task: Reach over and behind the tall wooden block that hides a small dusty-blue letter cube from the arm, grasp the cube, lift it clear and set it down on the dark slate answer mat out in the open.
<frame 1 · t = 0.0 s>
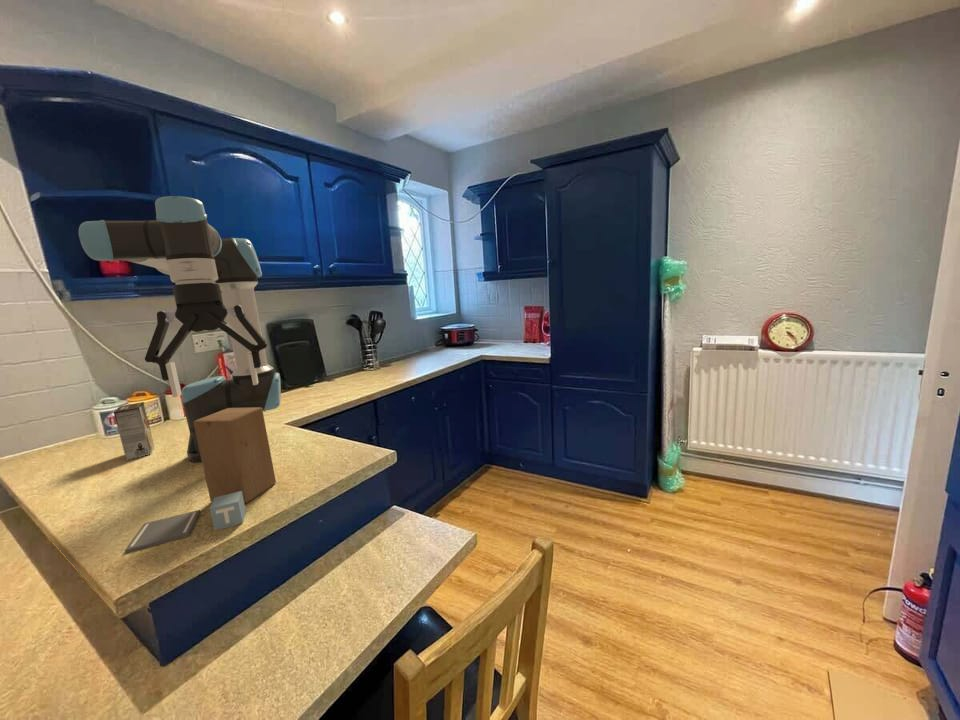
hand: (217, 389, 79), 28 cm above the countertop, fingers open, 13 cm apart
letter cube: (230, 521, 83), on the countertop
coffee box: (141, 454, 128), on the countertop
answer mat: (166, 530, 81), on the countertop
wooden block: (245, 493, 95), on the countertop
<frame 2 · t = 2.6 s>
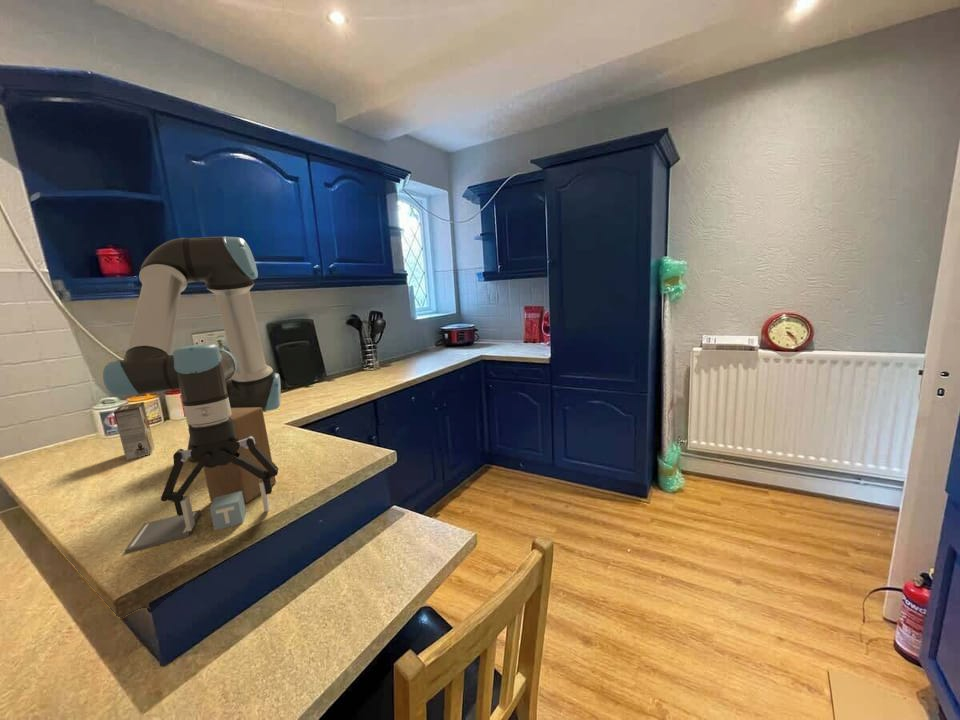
hand: (230, 518, 82), 1 cm above the countertop, fingers open, 13 cm apart
nothing on the countertop moved.
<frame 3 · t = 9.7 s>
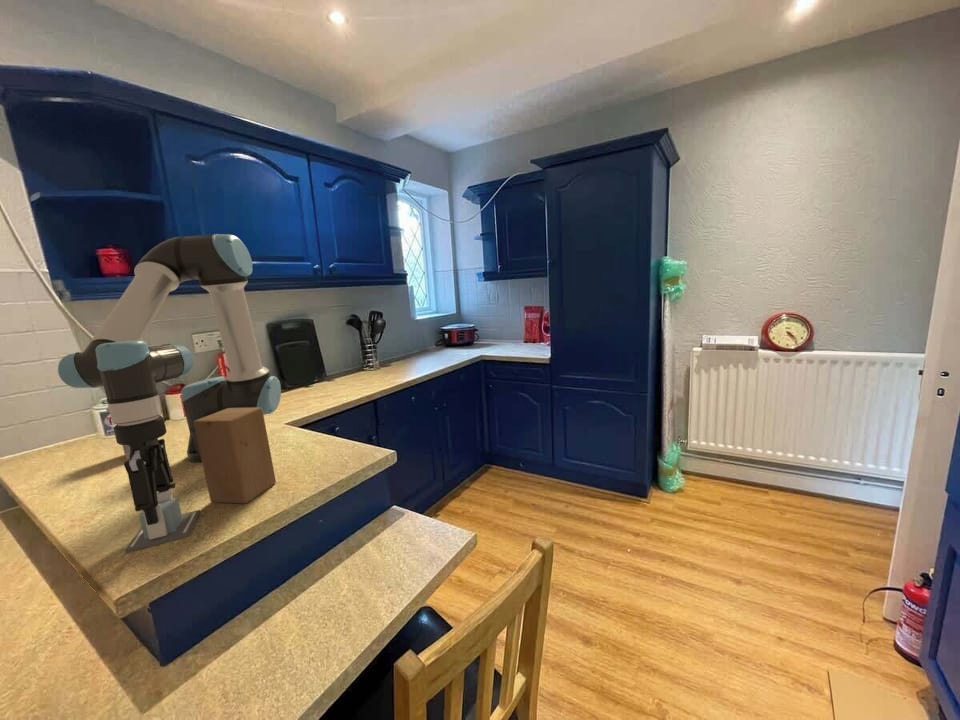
hand: (163, 528, 80), 1 cm above the countertop, fingers open, 6 cm apart
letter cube: (164, 528, 81), point 1 cm above the countertop, touching answer mat, gripper
everything else where it was.
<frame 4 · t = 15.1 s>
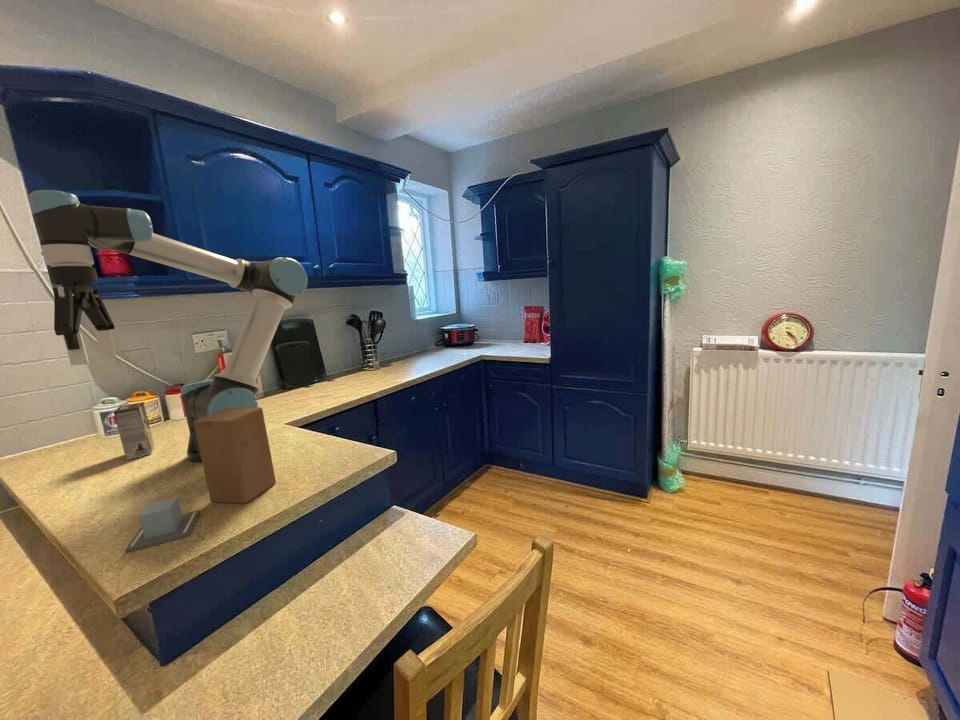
hand: (95, 360, 91), 35 cm above the countertop, fingers open, 13 cm apart
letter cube: (164, 528, 81), point 1 cm above the countertop, touching answer mat
everything else where it was.
at the end: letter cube inside the target area on the answer mat (0.1 cm from its centre), point 0.6 cm above the answer mat's base; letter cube tilted 0°; wooden block moved 0.2 cm from its start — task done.
